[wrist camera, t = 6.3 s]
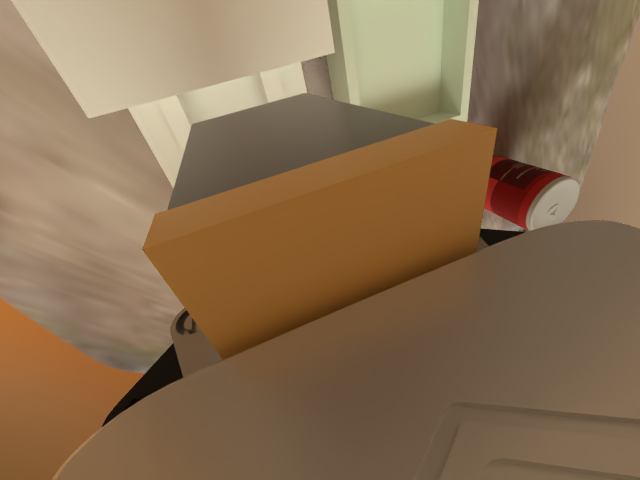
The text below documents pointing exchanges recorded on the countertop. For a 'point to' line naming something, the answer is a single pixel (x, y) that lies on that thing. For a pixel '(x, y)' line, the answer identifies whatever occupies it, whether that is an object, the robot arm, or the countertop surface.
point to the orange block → (313, 212)
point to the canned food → (529, 194)
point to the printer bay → (179, 58)
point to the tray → (404, 56)
